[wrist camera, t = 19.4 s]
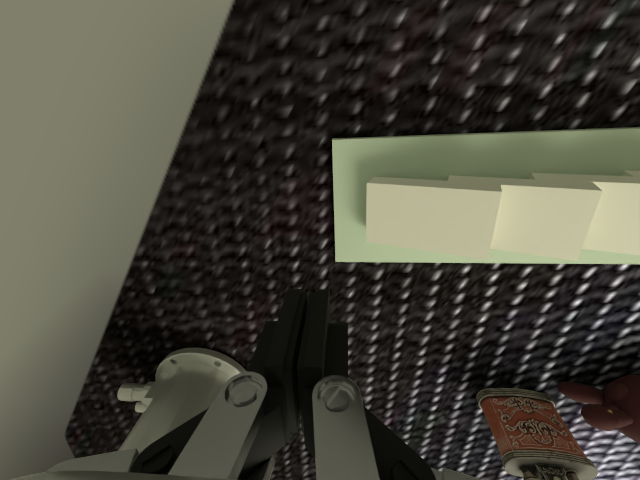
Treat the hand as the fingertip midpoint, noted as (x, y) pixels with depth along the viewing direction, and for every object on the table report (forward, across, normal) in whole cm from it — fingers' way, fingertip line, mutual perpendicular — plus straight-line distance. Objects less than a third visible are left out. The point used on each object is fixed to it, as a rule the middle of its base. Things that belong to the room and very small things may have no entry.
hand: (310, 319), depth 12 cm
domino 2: (+14, -9, 0) cm, 17 cm away
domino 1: (+14, -3, 0) cm, 15 cm away
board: (+16, -14, 0) cm, 21 cm away
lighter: (+17, -21, +24) cm, 36 cm away
